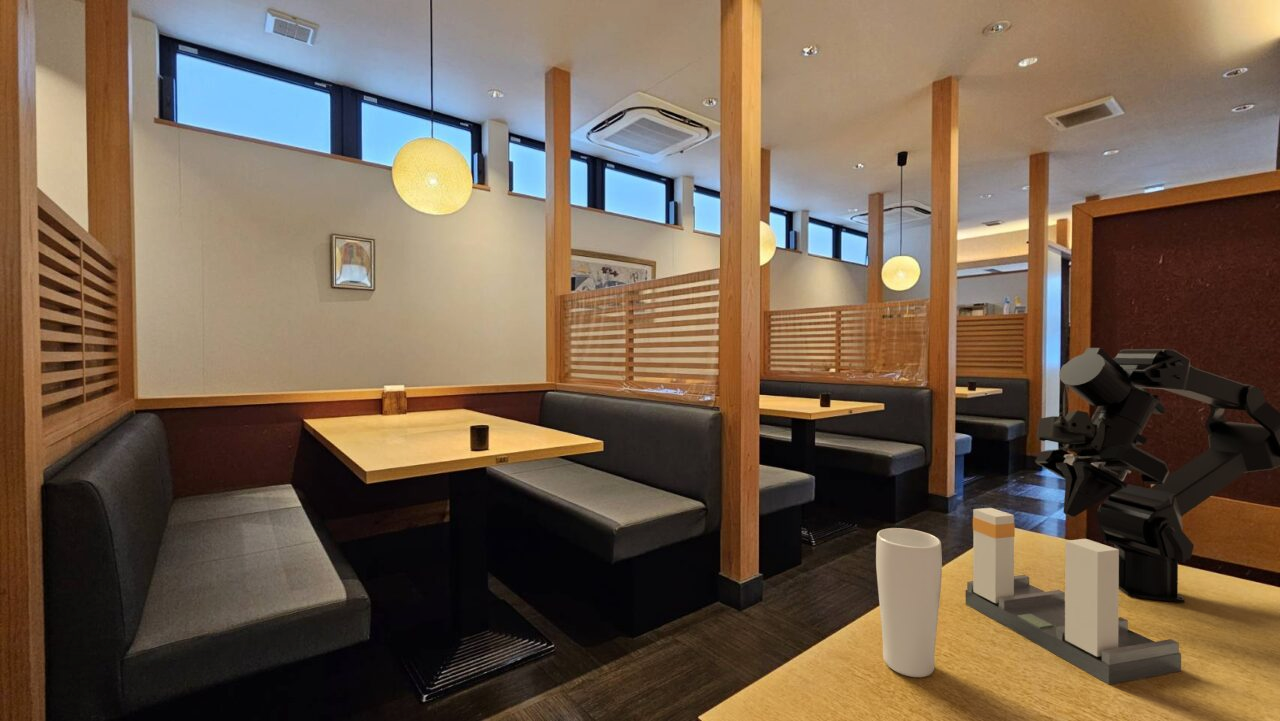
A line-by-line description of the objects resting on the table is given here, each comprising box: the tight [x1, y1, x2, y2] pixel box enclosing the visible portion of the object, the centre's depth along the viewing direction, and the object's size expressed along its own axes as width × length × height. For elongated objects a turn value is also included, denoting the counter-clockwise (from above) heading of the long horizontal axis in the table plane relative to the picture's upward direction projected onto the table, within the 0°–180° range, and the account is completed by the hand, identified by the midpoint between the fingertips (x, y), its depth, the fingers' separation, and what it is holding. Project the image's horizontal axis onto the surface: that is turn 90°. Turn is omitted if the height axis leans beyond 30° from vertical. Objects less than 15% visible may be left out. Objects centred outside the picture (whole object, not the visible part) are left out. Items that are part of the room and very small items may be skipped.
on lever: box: [1064, 538, 1120, 657], centre depth 62 cm, size 3×4×12 cm
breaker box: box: [965, 574, 1182, 685], centre depth 69 cm, size 10×19×3 cm, turn 13°
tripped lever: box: [972, 507, 1016, 603], centre depth 74 cm, size 3×4×12 cm
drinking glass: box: [875, 527, 943, 678], centre depth 62 cm, size 7×7×15 cm
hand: (1068, 515), depth 77 cm, fingers closed
